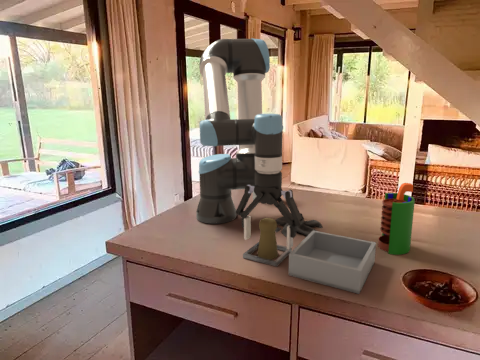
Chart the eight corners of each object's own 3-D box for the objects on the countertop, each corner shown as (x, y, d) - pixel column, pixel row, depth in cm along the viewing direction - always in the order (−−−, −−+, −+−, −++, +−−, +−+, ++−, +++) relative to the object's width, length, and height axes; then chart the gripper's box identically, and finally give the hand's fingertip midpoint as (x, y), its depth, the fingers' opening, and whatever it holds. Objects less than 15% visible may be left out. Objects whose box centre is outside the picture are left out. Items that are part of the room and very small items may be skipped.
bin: (288, 275, 95) (289, 254, 93) (312, 248, 110) (312, 230, 108) (359, 294, 86) (360, 271, 84) (374, 262, 101) (376, 242, 99)
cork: (280, 252, 108) (281, 217, 105) (274, 261, 102) (274, 224, 100) (261, 248, 110) (261, 214, 107) (254, 257, 105) (254, 221, 102)
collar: (243, 257, 105) (242, 254, 104) (260, 244, 113) (260, 240, 113) (276, 266, 99) (276, 262, 99) (291, 251, 108) (291, 247, 108)
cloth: (272, 217, 137) (273, 202, 136) (323, 221, 133) (324, 205, 132) (264, 242, 116) (265, 224, 114) (324, 246, 112) (325, 228, 111)
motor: (371, 240, 115) (377, 179, 110) (399, 239, 115) (405, 178, 110) (387, 255, 105) (393, 188, 100) (416, 253, 106) (424, 187, 100)
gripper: (222, 169, 103) (224, 238, 108) (306, 178, 91) (304, 257, 96) (236, 164, 109) (237, 230, 114) (316, 172, 97) (313, 246, 102)
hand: (267, 242), depth 105 cm, fingers open, 13 cm apart
